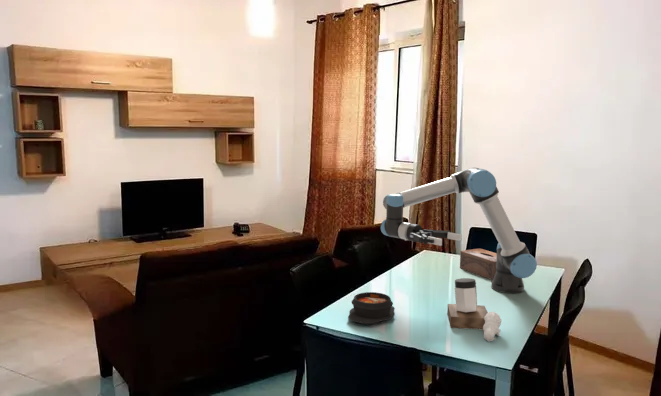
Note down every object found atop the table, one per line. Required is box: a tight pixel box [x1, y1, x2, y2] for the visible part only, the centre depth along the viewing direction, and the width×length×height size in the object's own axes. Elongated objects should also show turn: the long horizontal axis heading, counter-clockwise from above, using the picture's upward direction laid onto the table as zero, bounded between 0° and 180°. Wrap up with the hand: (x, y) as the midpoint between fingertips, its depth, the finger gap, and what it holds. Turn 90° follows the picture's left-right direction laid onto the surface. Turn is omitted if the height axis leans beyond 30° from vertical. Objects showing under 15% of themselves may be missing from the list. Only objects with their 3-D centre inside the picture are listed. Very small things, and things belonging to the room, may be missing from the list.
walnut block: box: [446, 303, 489, 330], centre depth 206 cm, size 15×15×5 cm
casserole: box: [347, 291, 396, 325], centre depth 210 cm, size 25×19×8 cm
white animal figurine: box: [482, 311, 502, 342], centre depth 190 cm, size 6×8×12 cm
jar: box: [454, 277, 478, 312], centre depth 205 cm, size 9×8×12 cm
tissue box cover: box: [459, 248, 497, 280], centre depth 278 cm, size 26×14×10 cm, turn 26°
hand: (451, 240), depth 209 cm, fingers open, 13 cm apart
